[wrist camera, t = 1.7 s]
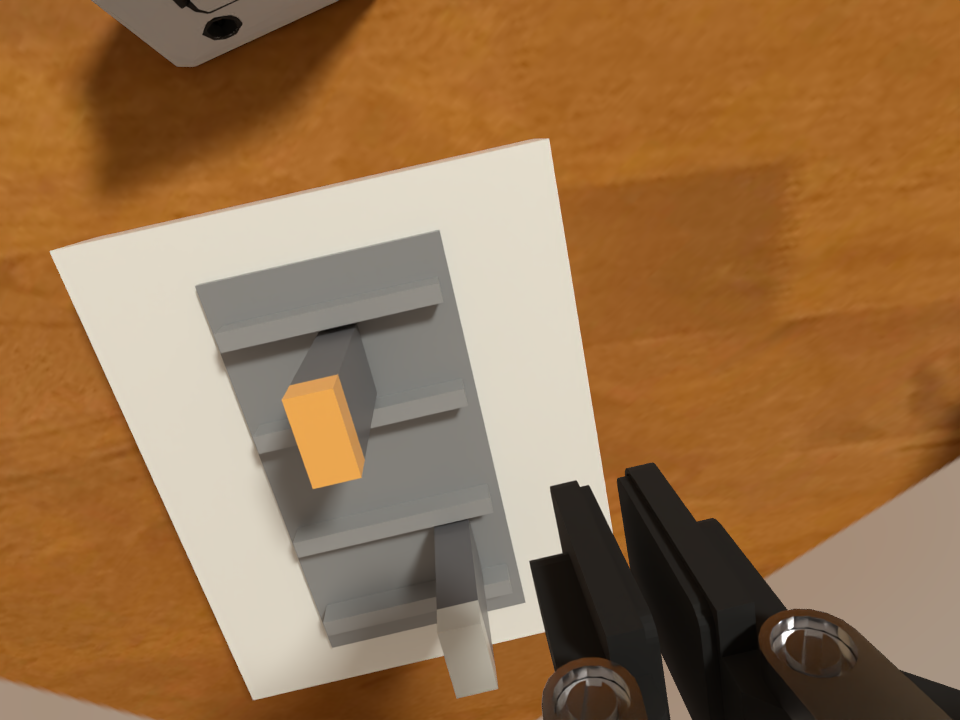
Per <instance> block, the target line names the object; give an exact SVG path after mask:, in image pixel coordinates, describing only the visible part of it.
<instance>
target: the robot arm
mask: <svg viewBox="0 0 960 720" xmlns="http://www.w3.org/2000/svg"><path fill="white" fill-rule="evenodd" d="M617 486H618V492H619V499H620V505H621V512H622V518H623V525H624V531H625V538H626V544H627V551H628V557H629V564H630V568H629V566H628V564H627V562H626V560H625V558H624V556H623V554H622V552H621V550H620V548H619V546H618V543H617V541H616V539H615V537H614V535H613V533H612V531H611V529H610V527H609V525H608V523H607V521H606V519H605V517H604V515H603V512H602V510H601V508H600V506H599V504H598V502H597V500H596V498H595V496H594V494H593V492H592V490H591V488H590V486H589V485H586V486H581V487H580V486H579V484H578V482H577V480H575V481H570V482H566V483H562V484H557V485H553V486H550V492H551V498H552V503H553V508H554V513H555V518H556V523H557V528H558V533H559V538H560V543H561V548H562V553H561V554H556V555H552V556H548V557H543V558H539V559H535V560H531V561H529V563H530V568H531V573H532V577H533V582H534V586H535V591H536V595H537V599H538V604H539V608H540V612H541V617H542V621H543V625H544V629H545V633H546V637H547V641H548V645H549V649H550V653H551V657H552V661H553V665H554V669H555V673H554V674H553V675H552V676H551V677H550V678H549V679H548V681H547V684H546V686H545V688H544V690H543V697H542V713H543V720H670V714H669V707H668V700H667V693H666V686H665V679H664V671H663V664H662V657H661V654H662V656H663V658H664V660H665V662H666V664H667V666H668V669H669V671H670V673H671V675H672V677H673V679H674V682H675V684H676V686H677V688H678V690H679V692H680V695H681V696H682V699H683V701H684V703H685V705H686V707H687V710H688V712H689V714H690V716H691V718H692V720H960V690H957V689H954V688H951V687H948V686H945V685H943V684H940V683H937V682H934V681H930V680H928V679H924V678H922V677H919V676H916V675H913V674H910V673H907V672H904V671H901V670H899V669H898V668H897V667H896V666H895V665H894V664H892V663H891V662H890V661H889V660H888V659H887V658H886V657H885V656H884V655H883V654H882V653H881V652H880V651H879V650H877V649H876V648H875V647H874V646H873V645H872V644H871V643H870V642H869V641H867V639H866V638H865V637H864V636H862V635H861V634H860V633H859V632H858V631H857V630H856V629H855V628H853V627H852V626H850V625H849V624H847V623H846V622H845V621H844V620H842V619H839V618H837V617H835V616H833V615H830V614H828V613H825V612H821V611H816V610H812V609H791V610H787V609H786V607H785V606H784V605H783V604H782V602H781V601H780V600H779V598H778V597H777V596H776V594H775V593H774V592H773V591H772V590H771V588H770V587H769V585H768V584H767V583H766V582H765V580H764V579H763V578H762V576H761V575H760V574H759V573H758V571H757V570H756V569H755V568H754V566H753V565H752V564H751V562H750V561H749V560H748V559H747V557H746V556H745V555H744V553H743V552H742V551H741V550H740V548H739V547H738V546H737V544H736V543H735V542H734V541H733V539H732V538H731V537H730V535H729V534H728V533H727V532H726V530H725V529H724V528H723V526H722V525H721V524H720V523H719V522H718V521H717V520H716V519H714V518H711V519H706V520H702V521H698V522H696V520H695V519H694V517H693V516H692V515H691V513H690V512H689V510H688V509H687V508H686V506H685V505H684V503H683V502H682V501H681V499H680V498H679V497H678V495H677V494H676V492H675V491H674V490H673V488H672V487H671V485H670V484H669V483H668V481H667V480H666V478H665V477H664V476H663V474H662V473H661V472H660V470H659V469H658V467H657V466H656V465H655V464H654V463H648V464H644V465H639V466H635V467H631V468H626V470H625V477H620V478H618V479H617Z"/></svg>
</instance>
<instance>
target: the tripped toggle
mask: <svg viewBox="0 0 960 720" xmlns="http://www.w3.org/2000/svg"><path fill="white" fill-rule="evenodd" d="M376 396H377V391H376V388H375V384H374V381H373V377H372V374H371V370H370V367H369V364H368V360H367V357H366V353H365V350H364V347H363V343H362V340H361V336H360V333H359V329H358V326H357V323H355V324H351V325H346V326H342V327H338V328H333V329H329V330H324V331H320V332H318V334H317V336H316V338H315V340H314V342H313V343H312V345H311V347H310V349H309V351H308V353H307V354H306V356H305V358H304V360H303V362H302V364H301V365H300V367H299V369H298V371H297V373H296V375H295V376H294V378H293V380H292V382H291V384H290V386H289V387H288V389H287V391H286V393H285V395H284V397H283V398H282V403H283V406H284V408H285V411H286V414H287V417H288V420H289V423H290V425H291V428H292V431H293V434H294V437H295V440H296V442H297V445H298V448H299V451H300V454H301V457H302V459H303V462H304V465H305V468H306V471H307V474H308V476H309V479H310V482H311V485H312V488H313V489H316V488H320V487H324V486H329V485H333V484H337V483H342V482H346V481H350V480H355V479H359V478H362V473H363V467H364V462H365V456H366V451H367V445H368V440H369V434H370V429H371V423H372V418H373V412H374V407H375V401H376Z"/></svg>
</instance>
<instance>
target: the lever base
mask: <svg viewBox="0 0 960 720" xmlns="http://www.w3.org/2000/svg"><path fill="white" fill-rule="evenodd" d="M50 254H51V256H52V258H53V260H54V262H55V265H56V267H57V269H58V271H59V273H60V276H61V278H62V280H63V282H64V284H65V287H66V289H67V291H68V293H69V295H70V298H71V300H72V302H73V304H74V306H75V309H76V311H77V313H78V315H79V317H80V320H81V322H82V324H83V326H84V328H85V331H86V333H87V335H88V337H89V339H90V342H91V344H92V346H93V348H94V350H95V353H96V355H97V357H98V359H99V361H100V364H101V366H102V368H103V370H104V372H105V375H106V377H107V379H108V381H109V384H110V386H111V388H112V390H113V392H114V395H115V397H116V399H117V401H118V403H119V406H120V408H121V410H122V412H123V414H124V417H125V419H126V421H127V423H128V425H129V428H130V430H131V432H132V434H133V436H134V439H135V441H136V443H137V445H138V447H139V450H140V452H141V454H142V456H143V458H144V461H145V463H146V465H147V467H148V469H149V472H150V474H151V476H152V478H153V480H154V483H155V485H156V487H157V489H158V491H159V494H160V496H161V498H162V500H163V502H164V505H165V507H166V509H167V511H168V513H169V516H170V518H171V520H172V522H173V525H174V527H175V529H176V531H177V533H178V536H179V538H180V540H181V542H182V544H183V547H184V549H185V551H186V553H187V555H188V558H189V560H190V562H191V564H192V566H193V569H194V571H195V573H196V575H197V577H198V580H199V582H200V584H201V586H202V588H203V591H204V593H205V595H206V597H207V599H208V602H209V604H210V606H211V608H212V610H213V613H214V615H215V617H216V619H217V621H218V624H219V626H220V628H221V630H222V632H223V635H224V637H225V639H226V641H227V643H228V646H229V648H230V650H231V652H232V655H233V657H234V659H235V661H236V663H237V666H238V668H239V670H240V672H241V674H242V677H243V679H244V681H245V683H246V685H247V688H248V690H249V692H250V694H251V696H252V699H253V700H257V699H261V698H265V697H270V696H274V695H278V694H282V693H287V692H291V691H295V690H299V689H304V688H308V687H312V686H316V685H321V684H325V683H329V682H333V681H338V680H342V679H346V678H351V677H355V676H359V675H363V674H368V673H372V672H376V671H380V670H385V669H389V668H393V667H397V666H402V665H406V664H410V663H414V662H419V661H423V660H427V659H432V658H436V657H440V656H444V657H445V660H446V664H447V667H448V670H449V674H450V677H451V680H452V684H453V687H454V691H455V694H456V697H457V698H461V697H465V696H469V695H474V694H478V693H482V692H486V691H491V690H495V689H498V683H497V676H496V669H495V662H494V654H493V647H492V644H495V643H500V642H504V641H508V640H513V639H517V638H521V637H525V636H530V635H534V634H538V633H542V632H545V629H544V625H543V621H542V617H541V612H540V608H539V604H538V599H537V595H536V591H535V586H534V582H533V577H532V573H531V568H530V563H529V561H531V560H535V559H539V558H543V557H548V556H552V555H556V554H561V553H562V548H561V543H560V538H559V533H558V528H557V523H556V518H555V513H554V508H553V503H552V498H551V492H550V486H553V485H557V484H562V483H566V482H570V481H575V480H577V482H578V484H579V486H580V487H581V486H586V485H589V486H590V488H591V490H592V492H593V494H594V496H595V498H596V500H597V502H598V504H599V506H600V508H601V510H602V512H603V515H604V517H605V519H606V521H607V523H608V525H609V527H610V529H611V531H612V525H611V519H610V513H609V506H608V500H607V494H606V488H605V482H604V476H603V469H602V463H601V457H600V451H599V445H598V439H597V432H596V426H595V420H594V414H593V408H592V402H591V395H590V389H589V383H588V377H587V371H586V365H585V358H584V352H583V346H582V340H581V334H580V327H579V321H578V315H577V309H576V303H575V297H574V290H573V284H572V278H571V272H570V266H569V260H568V253H567V247H566V241H565V235H564V229H563V223H562V216H561V210H560V204H559V198H558V192H557V186H556V179H555V173H554V167H553V161H552V155H551V149H550V142H549V139H531V140H526V141H522V142H518V143H513V144H509V145H504V146H500V147H495V148H491V149H486V150H482V151H478V152H473V153H469V154H464V155H460V156H455V157H451V158H447V159H442V160H438V161H433V162H429V163H424V164H420V165H416V166H411V167H407V168H402V169H398V170H393V171H389V172H384V173H380V174H376V175H371V176H367V177H362V178H358V179H353V180H349V181H345V182H340V183H336V184H331V185H327V186H322V187H318V188H313V189H309V190H305V191H300V192H296V193H291V194H287V195H282V196H278V197H274V198H269V199H265V200H260V201H256V202H251V203H247V204H242V205H238V206H234V207H229V208H225V209H220V210H216V211H211V212H207V213H203V214H198V215H194V216H189V217H185V218H180V219H176V220H172V221H167V222H163V223H158V224H154V225H149V226H145V227H140V228H136V229H132V230H127V231H123V232H118V233H114V234H109V235H105V236H101V237H96V238H92V239H89V240H86V241H82V242H79V243H76V244H72V245H69V246H65V247H62V248H59V249H55V250H52V251H50ZM355 323H357V326H358V329H359V333H360V336H361V340H362V343H363V347H364V350H365V353H366V357H367V360H368V364H369V367H370V370H371V374H372V377H373V381H374V384H375V388H376V391H377V396H376V401H375V407H374V412H373V418H372V423H371V429H370V434H369V440H368V445H367V451H366V456H365V462H364V467H363V473H362V478H359V479H355V480H350V481H346V482H342V483H337V484H333V485H329V486H324V487H320V488H316V489H313V488H312V485H311V482H310V479H309V476H308V474H307V471H306V468H305V465H304V462H303V459H302V457H301V454H300V451H299V448H298V445H297V442H296V440H295V437H294V434H293V431H292V428H291V425H290V423H289V420H288V417H287V414H286V411H285V408H284V406H283V403H282V398H283V397H284V395H285V393H286V391H287V389H288V387H289V386H290V384H291V382H292V380H293V378H294V376H295V375H296V373H297V371H298V369H299V367H300V365H301V364H302V362H303V360H304V358H305V356H306V354H307V353H308V351H309V349H310V347H311V345H312V343H313V342H314V340H315V338H316V336H317V334H318V332H320V331H324V330H329V329H333V328H338V327H342V326H346V325H351V324H355ZM612 533H613V531H612Z"/></svg>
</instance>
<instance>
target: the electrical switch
mask: <svg viewBox="0 0 960 720" xmlns="http://www.w3.org/2000/svg"><path fill="white" fill-rule="evenodd" d="M92 1H93V2H94V3H95V4H97V5H98V6H99V7H101V8H102V9H103V10H104V11H106V12H107V13H108V14H110V15H111V16H112V17H113V18H115V19H116V20H117V21H119V22H120V23H121V24H122V25H124V26H125V27H126V28H128V29H129V30H130V31H132V32H133V33H134V34H135V35H137V36H138V37H139V38H141V39H142V40H143V41H144V42H146V43H147V44H148V45H150V46H151V47H152V48H153V49H155V50H156V51H157V52H159V53H160V54H161V55H162V56H164V57H165V58H166V59H168V60H169V61H170V62H171V63H173V64H174V65H175V66H177V67H195V66H197V65H200V64H202V63H204V62H206V61H209V60H211V59H213V58H215V57H217V56H219V55H222V54H224V53H226V52H228V51H230V50H232V49H235V48H237V47H239V46H241V45H243V44H245V43H248V42H250V41H252V40H254V39H256V38H258V37H261V36H263V35H265V34H267V33H269V32H271V31H274V30H276V29H278V28H280V27H282V26H284V25H287V24H289V23H291V22H293V21H295V20H297V19H300V18H302V17H304V16H306V15H308V14H311V13H313V12H315V11H317V10H319V9H321V8H324V7H326V6H328V5H330V4H332V3H334V2H337V1H339V0H92Z"/></svg>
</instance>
